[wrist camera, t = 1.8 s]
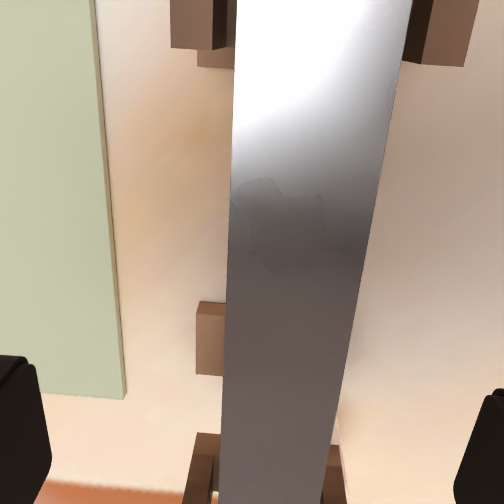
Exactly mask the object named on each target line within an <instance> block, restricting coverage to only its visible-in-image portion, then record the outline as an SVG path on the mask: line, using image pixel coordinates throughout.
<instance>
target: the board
mask: <svg viewBox="0 0 504 504" xmlns="http://www.w3.org/2000/svg"><path fill="white" fill-rule="evenodd" d="M0 355H12V356H23V357H26V358H27V360H28V363H29V364H33V365H34V366H35V368H36V372H37V377H38V383H39V388H40V393H49V394H60V395H72V396H83V397H95V398H106V399H118V400H123V399H124V397H125V395H126V384H125V372H124V359H123V347H122V335H121V322H120V310H119V298H118V285H117V273H116V261H115V249H114V236H113V224H112V212H111V199H110V187H109V175H108V162H107V150H106V138H105V125H104V113H103V101H102V89H101V76H100V64H99V52H98V39H97V27H96V15H95V2H94V0H0Z"/></svg>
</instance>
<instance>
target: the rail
mask: <svg viewBox="0 0 504 504" xmlns="http://www.w3.org/2000/svg"><path fill="white" fill-rule="evenodd" d="M411 5H412V0H238V1H237V27H236V53H235V79H234V105H233V131H232V157H231V183H230V209H229V235H228V261H227V287H226V314H225V340H224V366H223V392H222V418H221V444H220V470H219V496H218V504H320V499H321V493H322V488H323V482H324V477H325V471H326V466H327V461H328V455H329V450H330V444H331V439H332V433H333V428H334V423H335V417H336V412H337V406H338V401H339V396H340V390H341V385H342V379H343V374H344V368H345V363H346V358H347V352H348V347H349V341H350V336H351V330H352V325H353V320H354V314H355V309H356V303H357V298H358V293H359V287H360V282H361V276H362V271H363V265H364V260H365V255H366V249H367V244H368V238H369V233H370V227H371V222H372V217H373V211H374V206H375V200H376V195H377V190H378V184H379V179H380V173H381V168H382V162H383V157H384V152H385V146H386V141H387V135H388V130H389V125H390V119H391V114H392V108H393V103H394V97H395V92H396V87H397V81H398V76H399V70H400V65H401V59H402V54H403V49H404V43H405V38H406V32H407V27H408V22H409V16H410V11H411Z"/></svg>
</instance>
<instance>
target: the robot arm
mask: <svg viewBox="0 0 504 504" xmlns="http://www.w3.org/2000/svg"><path fill="white" fill-rule="evenodd" d="M51 462H52V453H51V447H50V442H49V437H48V431H47V426H46V420H45V415H44V410H43V404H42V399H41V393H40V388H39V383H38V377H37V372H36V368H35V366H34V365H33V364H29V363H28V360H27V358H26V357H23V356H12V355H0V504H33V503H34V501H35V499H36V497H37V495H38V493H39V491H40V489H41V487H42V485H43V483H44V481H45V479H46V477H47V475H48V473H49V470H50V467H51ZM453 492H454V498H455V502H456V504H504V389H501V388H499V389H496V390H494V392H493V393H492V395H487V396H486V397H485V399H484V401H483V404H482V406H481V409H480V412H479V415H478V417H477V420H476V423H475V426H474V428H473V431H472V434H471V437H470V440H469V442H468V445H467V448H466V451H465V453H464V456H463V459H462V462H461V464H460V467H459V470H458V473H457V475H456V478H455V481H454V485H453Z"/></svg>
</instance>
